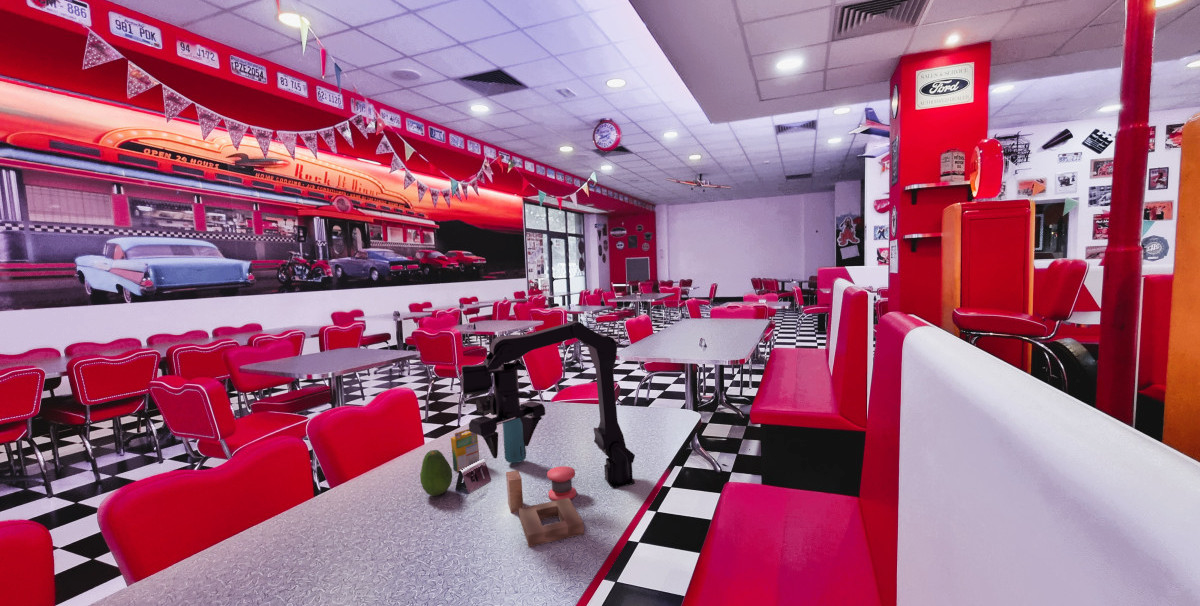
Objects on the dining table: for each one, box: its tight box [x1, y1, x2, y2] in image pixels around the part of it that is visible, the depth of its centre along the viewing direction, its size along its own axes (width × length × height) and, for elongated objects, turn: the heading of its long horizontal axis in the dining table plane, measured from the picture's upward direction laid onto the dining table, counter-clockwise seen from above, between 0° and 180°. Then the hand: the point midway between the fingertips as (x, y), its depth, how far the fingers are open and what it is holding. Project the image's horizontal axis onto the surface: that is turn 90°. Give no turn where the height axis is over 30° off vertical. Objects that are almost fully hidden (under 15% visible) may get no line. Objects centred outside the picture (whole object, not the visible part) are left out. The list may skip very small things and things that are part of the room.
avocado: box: [419, 449, 453, 497], centre depth 124 cm, size 8×8×12 cm
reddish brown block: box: [505, 469, 524, 514], centre depth 115 cm, size 3×5×8 cm, turn 19°
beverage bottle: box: [502, 418, 527, 464], centre depth 141 cm, size 6×7×20 cm
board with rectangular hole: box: [518, 498, 585, 548], centre depth 106 cm, size 12×12×2 cm
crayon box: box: [450, 428, 480, 473], centre depth 141 cm, size 7×3×12 cm, turn 134°
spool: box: [546, 465, 577, 502], centre depth 120 cm, size 7×7×6 cm
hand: (511, 451), depth 116 cm, fingers open, 9 cm apart
